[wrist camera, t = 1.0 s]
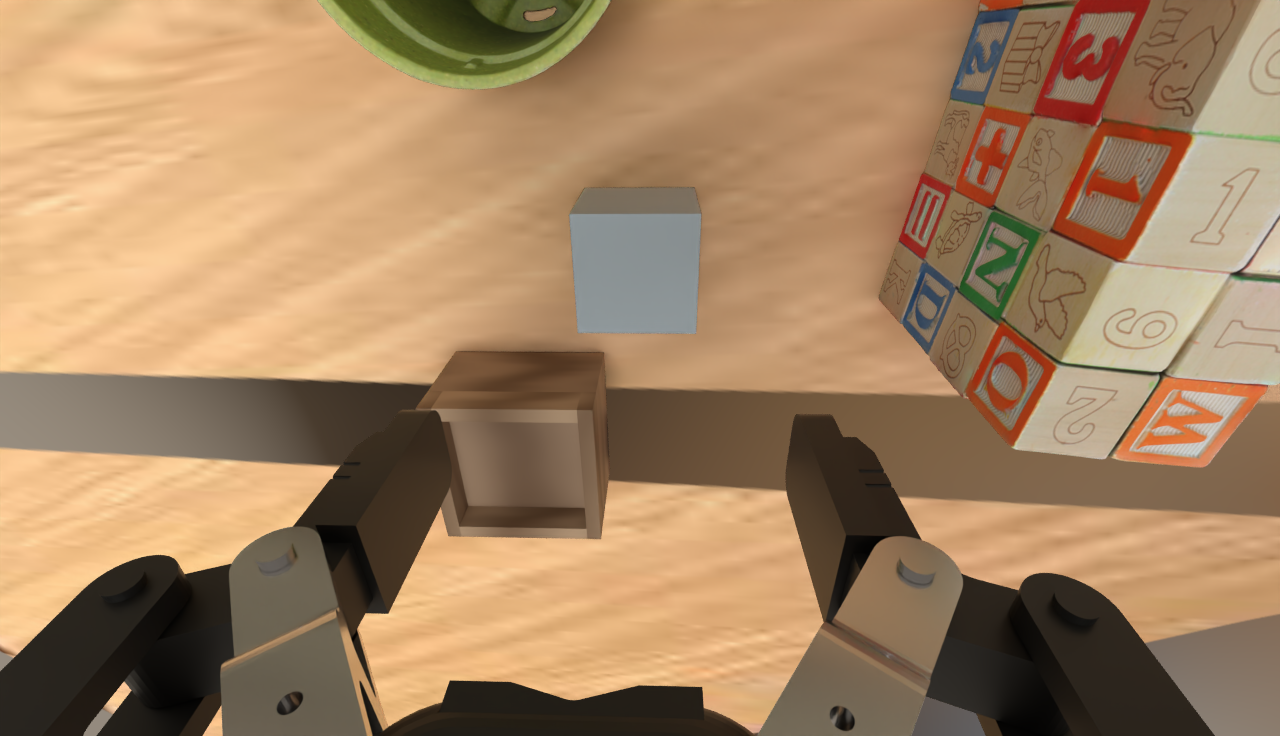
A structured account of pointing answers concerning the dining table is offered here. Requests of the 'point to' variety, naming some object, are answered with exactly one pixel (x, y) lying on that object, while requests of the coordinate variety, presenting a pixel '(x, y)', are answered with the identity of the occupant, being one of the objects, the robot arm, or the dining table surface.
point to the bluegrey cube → (636, 259)
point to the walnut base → (524, 443)
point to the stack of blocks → (1104, 226)
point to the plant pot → (467, 36)
